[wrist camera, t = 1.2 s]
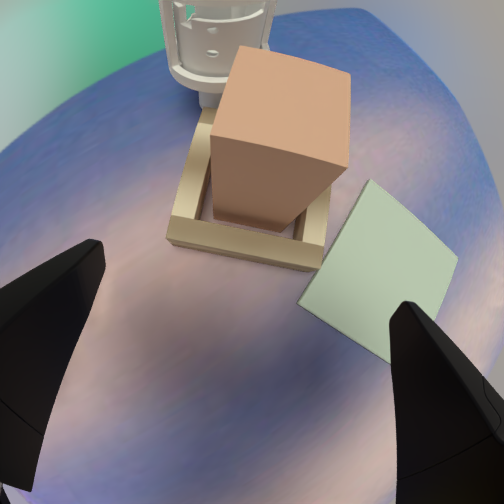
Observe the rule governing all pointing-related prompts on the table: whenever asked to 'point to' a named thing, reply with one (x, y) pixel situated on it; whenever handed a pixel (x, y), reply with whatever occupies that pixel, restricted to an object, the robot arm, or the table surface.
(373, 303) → the mat
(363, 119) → the table surface
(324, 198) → the pocket frame
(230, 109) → the block
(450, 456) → the robot arm
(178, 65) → the white flanged cylinder housing
